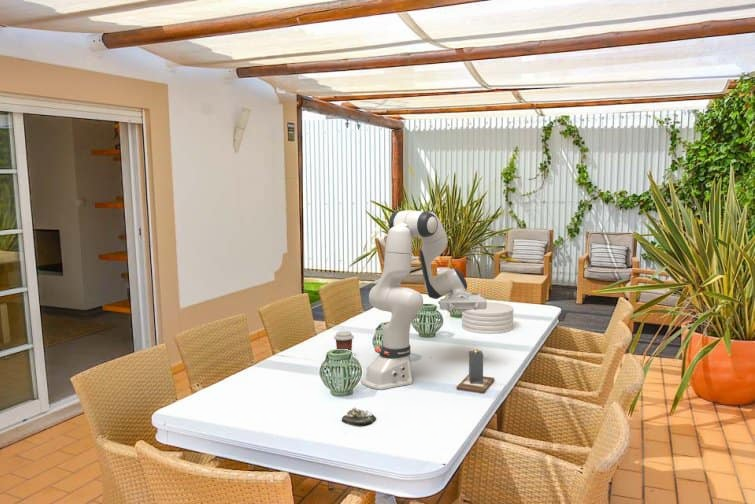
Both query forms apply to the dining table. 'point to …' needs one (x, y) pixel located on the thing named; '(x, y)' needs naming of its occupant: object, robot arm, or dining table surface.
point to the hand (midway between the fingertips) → (464, 307)
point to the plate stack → (489, 319)
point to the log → (358, 417)
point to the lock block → (476, 367)
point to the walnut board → (475, 385)
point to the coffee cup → (344, 340)
